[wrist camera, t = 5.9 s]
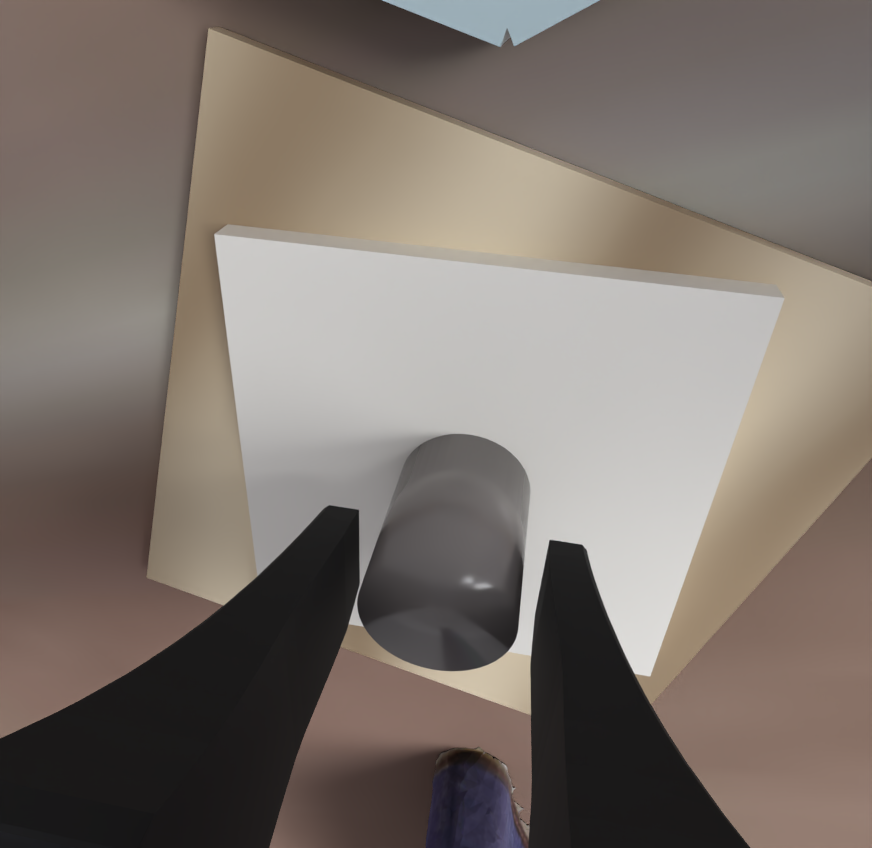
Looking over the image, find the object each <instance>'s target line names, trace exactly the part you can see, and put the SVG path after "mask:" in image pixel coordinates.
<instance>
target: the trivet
mask: <svg viewBox="0 0 872 848" xmlns="http://www.w3.org/2000/svg"><path fill="white" fill-rule="evenodd" d="M227 224H230V225H239V226H248V227H257V228H266V229H275V230H285V231H294V232H303V233H312V234H321V235H330V236H339V237H348V238H357V239H366V240H375V241H385V242H394V243H403V244H412V245H421V246H430V247H439V248H448V249H457V250H466V251H475V252H484V253H494V254H503V255H512V256H521V257H530V258H539V259H548V260H557V261H566V262H575V263H584V264H593V265H603V266H612V267H621V268H630V269H639V270H648V271H657V272H666V273H675V274H684V275H693V276H703V277H712V278H721V279H730V280H739V281H748V282H757V283H766V284H775V285H777V287H778V288H779V290H780V291H781V293H782V295H783V296H784V298H785V299H784V302H783V304H782V307H781V310H780V313H779V316H778V318H777V321H776V324H775V327H774V330H773V333H772V335H771V338H770V341H769V344H768V347H767V349H766V352H765V355H764V358H763V361H762V363H761V366H760V369H759V372H758V375H757V378H756V380H755V383H754V386H753V389H752V392H751V394H750V397H749V400H748V403H747V406H746V408H745V411H744V414H743V417H742V420H741V422H740V425H739V428H738V431H737V434H736V437H735V439H734V442H733V445H732V448H731V451H730V453H729V456H728V459H727V462H726V465H725V467H724V470H723V473H722V476H721V479H720V482H719V484H718V487H717V490H716V493H715V496H714V498H713V501H712V504H711V507H710V510H709V512H708V515H707V518H706V521H705V524H704V527H703V529H702V532H701V535H700V538H699V541H698V543H697V546H696V549H695V552H694V555H693V557H692V560H691V563H690V566H689V569H688V572H687V574H686V577H685V580H684V583H683V586H682V588H681V591H680V594H679V597H678V600H677V602H676V605H675V608H674V611H673V614H672V617H671V619H670V622H669V625H668V628H667V631H666V633H665V636H664V639H663V642H662V645H661V647H660V650H659V653H658V656H657V659H656V661H655V664H654V667H653V670H652V673H651V676H644V675H638V674H635V676H636V678H637V680H638V682H639V684H640V686H641V687H642V689H643V691H644V693H645V695H646V697H647V699H648V700H649V702H650V704H652V703H653V702H654V701H655V699H656V698H657V697H658V696H659V695H660V694H661V693H662V692H663V691H664V689H665V688H666V687H667V686H668V685H669V684H670V683H671V682H672V680H673V679H674V678H675V677H676V676H677V675H678V674H679V673H680V672H681V670H682V669H683V668H684V667H685V666H686V665H687V664H688V663H689V661H690V660H691V659H692V658H693V657H694V656H695V655H696V654H697V653H698V651H699V650H700V649H701V648H702V647H703V646H704V645H705V644H706V642H707V641H708V640H709V639H710V638H711V637H712V636H713V635H714V634H715V632H716V631H717V630H718V629H719V628H720V627H721V626H722V625H723V624H724V622H725V621H726V620H727V619H728V618H729V617H730V616H731V615H732V613H733V612H734V611H735V610H736V609H737V608H738V607H739V606H740V605H741V603H742V602H743V601H744V600H745V599H746V598H747V597H748V596H749V594H750V593H751V592H752V591H753V590H754V589H755V588H756V587H757V586H758V584H759V583H760V582H761V581H762V580H763V579H764V578H765V577H766V575H767V574H768V573H769V572H770V571H771V570H772V569H773V568H774V567H775V565H776V564H777V563H778V562H779V561H780V560H781V559H782V558H783V556H784V555H785V554H786V553H787V552H788V551H789V550H790V549H791V548H792V546H793V545H794V544H795V543H796V542H797V541H798V540H799V539H800V538H801V536H802V535H803V534H804V533H805V532H806V531H807V530H808V529H809V527H810V526H811V525H812V524H813V523H814V522H815V521H816V520H817V519H818V517H819V516H820V515H821V514H822V513H823V512H824V511H825V510H826V508H827V507H828V506H829V505H830V504H831V503H832V502H833V501H834V500H835V498H836V497H837V496H838V495H839V494H840V493H841V492H842V491H843V489H844V488H845V487H846V486H847V485H848V484H849V483H850V482H851V481H852V479H853V478H854V477H855V476H856V475H857V474H858V473H859V472H860V471H861V469H862V468H863V467H864V466H865V465H866V464H867V463H868V462H869V460H870V459H871V458H872V281H870V280H867V279H865V278H862V277H859V276H857V275H854V274H852V273H849V272H847V271H844V270H841V269H839V268H836V267H834V266H831V265H829V264H826V263H823V262H821V261H818V260H816V259H813V258H811V257H808V256H806V255H803V254H800V253H798V252H795V251H793V250H790V249H788V248H785V247H782V246H780V245H777V244H775V243H772V242H770V241H767V240H765V239H762V238H759V237H757V236H754V235H752V234H749V233H747V232H744V231H741V230H739V229H736V228H734V227H731V226H729V225H726V224H724V223H721V222H718V221H716V220H713V219H711V218H708V217H706V216H703V215H700V214H698V213H695V212H693V211H690V210H688V209H685V208H683V207H680V206H677V205H675V204H672V203H670V202H667V201H665V200H662V199H659V198H657V197H654V196H652V195H649V194H647V193H644V192H641V191H639V190H636V189H634V188H631V187H629V186H626V185H624V184H621V183H618V182H616V181H613V180H611V179H608V178H606V177H603V176H600V175H598V174H595V173H593V172H590V171H588V170H585V169H583V168H580V167H577V166H575V165H572V164H570V163H567V162H565V161H562V160H559V159H557V158H554V157H552V156H549V155H547V154H544V153H542V152H539V151H536V150H534V149H531V148H529V147H526V146H524V145H521V144H518V143H516V142H513V141H511V140H508V139H506V138H503V137H501V136H498V135H495V134H493V133H490V132H488V131H485V130H483V129H480V128H477V127H475V126H472V125H470V124H467V123H465V122H462V121H459V120H457V119H454V118H452V117H449V116H447V115H444V114H442V113H439V112H436V111H434V110H431V109H429V108H426V107H424V106H421V105H418V104H416V103H413V102H411V101H408V100H406V99H403V98H401V97H398V96H395V95H393V94H390V93H388V92H385V91H383V90H380V89H377V88H375V87H372V86H370V85H367V84H365V83H362V82H360V81H357V80H354V79H352V78H349V77H347V76H344V75H342V74H339V73H336V72H334V71H331V70H329V69H326V68H324V67H321V66H319V65H316V64H313V63H311V62H308V61H306V60H303V59H301V58H298V57H295V56H293V55H290V54H288V53H285V52H283V51H280V50H277V49H275V48H272V47H270V46H267V45H265V44H262V43H260V42H257V41H254V40H252V39H249V38H247V37H244V36H242V35H239V34H236V33H234V32H231V31H229V30H226V29H224V28H221V27H214V28H208V37H207V46H206V55H205V64H204V73H203V81H202V90H201V99H200V108H199V117H198V126H197V134H196V143H195V152H194V161H193V170H192V179H191V188H190V196H189V205H188V214H187V223H186V232H185V241H184V249H183V258H182V267H181V276H180V285H179V294H178V303H177V311H176V320H175V329H174V338H173V347H172V356H171V364H170V373H169V382H168V391H167V400H166V409H165V418H164V426H163V435H162V444H161V453H160V462H159V471H158V480H157V488H156V497H155V506H154V515H153V524H152V533H151V541H150V550H149V559H148V568H147V577H146V578H148V579H151V580H154V581H157V582H159V583H162V584H165V585H168V586H171V587H173V588H176V589H179V590H182V591H185V592H187V593H190V594H193V595H196V596H199V597H201V598H204V599H207V600H210V601H213V602H215V603H218V604H221V605H225V604H226V603H227V602H228V601H229V600H231V599H232V598H233V597H234V596H235V595H236V594H238V593H239V592H240V591H241V590H242V589H243V588H245V587H246V586H247V585H248V584H249V583H250V582H251V581H253V580H254V579H255V578H256V577H257V569H256V562H255V554H254V546H253V538H252V530H251V522H250V514H249V506H248V498H247V490H246V482H245V475H244V467H243V459H242V451H241V443H240V435H239V427H238V419H237V411H236V403H235V395H234V388H233V380H232V372H231V364H230V356H229V348H228V340H227V332H226V324H225V316H224V308H223V301H222V293H221V285H220V277H219V269H218V261H217V253H216V245H215V237H214V234H215V233H216V232H218V231H219V230H221V229H222V228H223V227H225V226H226V225H227ZM340 647H341V648H344V649H347V650H350V651H353V652H355V653H358V654H361V655H364V656H367V657H369V658H372V659H375V660H378V661H381V662H383V663H386V664H389V665H392V666H395V667H397V668H400V669H403V670H406V671H409V672H411V673H414V674H417V675H420V676H423V677H425V678H428V679H431V680H434V681H437V682H439V683H442V684H445V685H448V686H450V687H453V688H456V689H459V690H462V691H464V692H467V693H470V694H473V695H476V696H478V697H481V698H484V699H487V700H490V701H492V702H495V703H498V704H501V705H504V706H506V707H509V708H512V709H515V710H518V711H520V712H523V713H526V714H529V715H531V677H530V663H531V656H529V655H523V654H518V653H512V652H507V653H506V654H505V655H503V656H502V657H501V658H499V659H498V660H497V661H495V662H493V663H491V664H489V665H486V666H483V667H481V668H477V669H472V670H466V671H439V670H432V669H428V668H423V667H420V666H417V665H413V664H411V663H408V662H406V661H403V660H402V659H400V658H398V657H396V656H394V655H392V654H391V653H389V652H388V651H386V650H385V649H384V648H382V647H381V646H380V645H379V644H378V643H377V642H375V641H374V640H373V638H372V637H371V636H370V635H369V634H368V632H367V631H366V629H365V628H364V627H362V626H356V625H351V624H349V625H348V628H347V631H346V634H345V636H344V639H343V641H342V644H341V646H340Z"/></svg>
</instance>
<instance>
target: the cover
mask: <svg viewBox="0 0 872 848" xmlns="http://www.w3.org/2000/svg"><path fill="white" fill-rule="evenodd" d="M214 237H215V245H216V253H217V261H218V269H219V277H220V285H221V293H222V301H223V308H224V316H225V324H226V332H227V340H228V348H229V356H230V364H231V372H232V380H233V388H234V395H235V403H236V411H237V419H238V427H239V435H240V443H241V451H242V459H243V467H244V475H245V482H246V490H247V498H248V506H249V514H250V522H251V530H252V538H253V546H254V554H255V562H256V569H257V576H258V575H259V574H260V573H261V572H262V571H263V570H264V569H265V568H266V567H267V566H269V565H270V564H271V563H272V562H273V561H274V560H275V559H276V558H277V557H278V556H279V555H280V554H281V553H282V552H283V551H284V550H285V549H286V548H287V547H288V546H289V545H290V544H291V543H292V542H293V541H294V540H295V539H296V538H297V537H298V536H299V535H300V534H301V533H302V532H303V530H304V529H305V528H306V527H307V526H308V525H309V524H310V523H311V522H312V521H313V520H314V519H315V518H316V516H317V515H318V514H319V513H320V512H321V511H322V510H323V509H324V508H325V507H327V506H328V505H332V506H338V507H345V508H351V509H357V510H359V561H360V585H359V589H358V592H357V596H356V600H355V603H354V607H353V611H352V614H351V618H350V621H349V624H351V625H356V626H362V627H364V628H365V629H366V631H367V632H368V634H369V635H370V636H371V637H372V638H373V640H374V641H375V642H377V643H378V644H379V645H380V646H381V647H382V648H384V649H385V650H386V651H388V652H389V653H391V654H392V655H394V656H396V657H398V658H400V659H402V660H403V661H406V662H408V663H411V664H413V665H417V666H420V667H423V668H428V669H432V670H439V671H466V670H472V669H477V668H481V667H483V666H486V665H489V664H491V663H493V662H495V661H497V660H498V659H499V658H501V657H502V656H503V655H505V654H506V653H507V652H512V653H518V654H523V655H529V656H531V651H532V640H533V629H534V619H535V611H536V606H537V601H538V596H539V591H540V586H541V580H542V575H543V570H544V565H545V560H546V555H547V550H548V545H549V540H556V541H562V542H569V543H575V544H581V545H583V546H584V547H585V549H586V550H587V553H588V557H589V561H590V565H591V569H592V572H593V575H594V578H595V581H596V584H597V587H598V590H599V593H600V596H601V599H602V601H603V604H604V607H605V609H606V612H607V614H608V617H609V619H610V621H611V624H612V626H613V628H614V631H615V633H616V635H617V638H618V640H619V642H620V645H621V647H622V649H623V651H624V653H625V655H626V658H627V660H628V662H629V664H630V666H631V668H632V670H633V672H634V674H638V675H644V676H651V673H652V670H653V667H654V664H655V661H656V659H657V656H658V653H659V650H660V647H661V645H662V642H663V639H664V636H665V633H666V631H667V628H668V625H669V622H670V619H671V617H672V614H673V611H674V608H675V605H676V602H677V600H678V597H679V594H680V591H681V588H682V586H683V583H684V580H685V577H686V574H687V572H688V569H689V566H690V563H691V560H692V557H693V555H694V552H695V549H696V546H697V543H698V541H699V538H700V535H701V532H702V529H703V527H704V524H705V521H706V518H707V515H708V512H709V510H710V507H711V504H712V501H713V498H714V496H715V493H716V490H717V487H718V484H719V482H720V479H721V476H722V473H723V470H724V467H725V465H726V462H727V459H728V456H729V453H730V451H731V448H732V445H733V442H734V439H735V437H736V434H737V431H738V428H739V425H740V422H741V420H742V417H743V414H744V411H745V408H746V406H747V403H748V400H749V397H750V394H751V392H752V389H753V386H754V383H755V380H756V378H757V375H758V372H759V369H760V366H761V363H762V361H763V358H764V355H765V352H766V349H767V347H768V344H769V341H770V338H771V335H772V333H773V330H774V327H775V324H776V321H777V318H778V316H779V313H780V310H781V307H782V304H783V302H784V299H785V298H784V296H783V295H782V293H781V291H780V290H779V288H778V287H777V285H775V284H766V283H757V282H748V281H739V280H730V279H721V278H712V277H703V276H693V275H684V274H675V273H666V272H657V271H648V270H639V269H630V268H621V267H612V266H603V265H593V264H584V263H575V262H566V261H557V260H548V259H539V258H530V257H521V256H512V255H503V254H494V253H484V252H475V251H466V250H457V249H448V248H439V247H430V246H421V245H412V244H403V243H394V242H385V241H375V240H366V239H357V238H348V237H339V236H330V235H321V234H312V233H303V232H294V231H285V230H275V229H266V228H257V227H248V226H239V225H230V224H227V225H226V226H225V227H223V228H222V229H221V230H219V231H218V232H216V233H215V234H214Z"/></svg>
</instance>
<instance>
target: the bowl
mask: <svg viewBox="0 0 872 848" xmlns="http://www.w3.org/2000/svg"><path fill="white" fill-rule="evenodd" d="M382 1H385V2H387V3H390V4H392V5H395V6H398V7H400V8H403V9H405V10H408V11H410V12H413V13H415V14H418V15H420V16H423V17H425V18H428V19H430V20H433V21H435V22H438V23H441V24H443V25H446V26H448V27H451V28H453V29H456V30H458V31H461V32H463V33H466V34H468V35H471V36H473V37H476V38H479V39H481V40H484V41H486V42H489V43H491V44H494V45H496V46H499V47H501V46H502V45H503V44H504V43H505V42H506V41H507V40H508V39H509V38H510V37H511V39H512V42H513V44H514V46H516V45H518V44H520V43H521V42H523V41H525V40H527V39H529V38H531V37H533V36H534V35H536V34H538V33H540V32H542V31H544V30H546V29H547V28H549V27H551V26H553V25H555V24H557V23H558V22H560V21H562V20H564V19H566V18H568V17H570V16H571V15H573V14H575V13H577V12H579V11H581V10H583V9H584V8H586V7H588V6H590V5H592V4H594V3H596V2H597V1H599V0H382Z"/></svg>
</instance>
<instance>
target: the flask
mask: <svg viewBox="0 0 872 848" xmlns="http://www.w3.org/2000/svg"><path fill="white" fill-rule="evenodd" d="M514 789H515V788H513V786H512V784H511V779H510V777H509V774H508V772H507V766H506V765H505V764H503V763H502V764H501V762H500V761H499V760H498V759H496V758H494V759H493V757H492V756H491V755H489V754H487V753H485V752H484V751H483V750H482V749H481V748H480V747H479V748H477V749H467V748H453V749H451V750H449V751H447V752H444V753H441V754H440V756H439V758H438V759H437V761H436V769H435V773H434V778H433V793H432V801H431V808H430V814H429V821H428V830H427V837H426V848H528V842H529V828H530V827H529V826H530V825H526V823H524V822H523V821H522V820H520V818H519V812H520V811H521V810H523V808H521V807H520V806H519V805H518V804H517V803H516V802H514V800H513V797H512V794H513V790H514Z"/></svg>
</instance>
